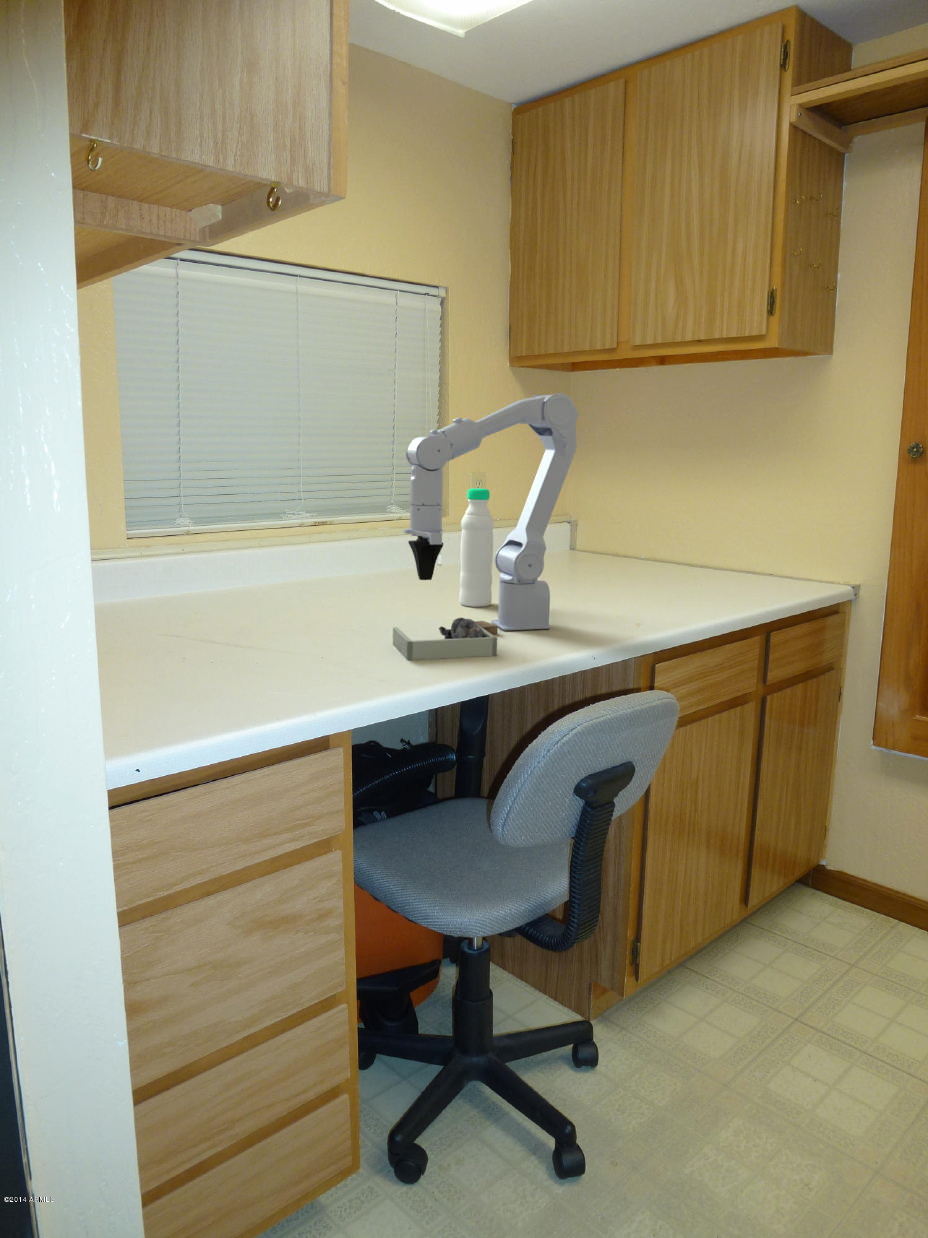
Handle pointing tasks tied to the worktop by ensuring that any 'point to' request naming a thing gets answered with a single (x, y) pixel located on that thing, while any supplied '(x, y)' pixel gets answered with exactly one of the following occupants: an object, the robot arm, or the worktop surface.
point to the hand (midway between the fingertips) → (425, 579)
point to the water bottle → (476, 551)
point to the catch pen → (444, 646)
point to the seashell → (462, 629)
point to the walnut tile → (488, 627)
